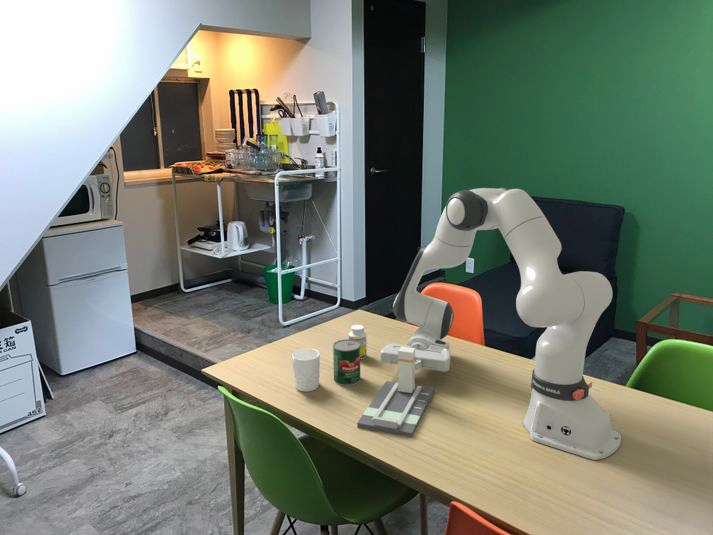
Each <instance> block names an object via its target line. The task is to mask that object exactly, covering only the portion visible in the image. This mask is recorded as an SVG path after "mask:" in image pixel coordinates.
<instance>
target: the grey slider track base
mask: <svg viewBox="0 0 713 535" xmlns="http://www.w3.org/2000/svg"><path fill="white" fill-rule="evenodd" d="M434 394H435V387H433V388H432V387H429V386H428V387H427V386H421V385H416V384H415V389H414V390H413V392H412V393H407V392H401V391H398V381H396V382H395V381H388V380H386V381H385V382H384V384H383V385H382V386H381V388H380V390H379V391H378V392H377V394H376V395H375V396H374V397H373V400H372V401H371V403H370V404H369V406H367V408H366V409H365V411H364V412H363V414H362V415H361V417H360V418H359V420H358V421H357V423H356V424H357V425H356V426H357V428H360V429H365V430H371V431H376V432H381V433H386V434H392V435H396V436H403V437H406V438H407V437H408V438H413V436H414V434H415V431H416V430H417V427H418V426H419V424H420V422H421V419H422V418H423V416H424V413H425V412H426V410H427V408H428V406H429V403H430V401H431V399H432V398H433V396H434Z"/></svg>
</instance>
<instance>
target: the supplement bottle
mask: <svg viewBox="0 0 713 535" xmlns="http://www.w3.org/2000/svg"><path fill="white" fill-rule="evenodd" d="M364 328H365V327H364V326H363V325H361V324H354V325H351V328H350V332H348V339H349V340H355V341H357V342H359V343H360V359H361V360H364V359H365V358H367V350H368V349H367V348H368V347H367V346H368V345H367V344H368V343H367V333H366V331H365V329H364Z"/></svg>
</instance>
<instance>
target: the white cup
mask: <svg viewBox="0 0 713 535" xmlns="http://www.w3.org/2000/svg"><path fill="white" fill-rule="evenodd" d="M291 358H292V370H293V378H294V386H295V388H296V390H298V391H301V392H311V391H315V390H317V389H318V388H319V385H320V369H321V368H320V366H321V352H320V351H319V350H317V349H314V348H300V349H297V350H295V351H293V352H292V354H291ZM316 388H317V389H316Z"/></svg>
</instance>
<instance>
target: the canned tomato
mask: <svg viewBox="0 0 713 535" xmlns="http://www.w3.org/2000/svg"><path fill="white" fill-rule="evenodd" d="M332 348H333V349H332V352H333V353H332V355H333V357H332V358H333V381H335V382H336V384H337V383H338V384H337V385H339V384H340V385H339V386H344V385H349V386H353V384H354V385H356V383H357V384H358V383H359V382H361V360H360V343H359V342H357V341H355V340H349V338H347V339H339V340H337V341H334V342H333V344H332ZM335 382H334V383H335Z"/></svg>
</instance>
